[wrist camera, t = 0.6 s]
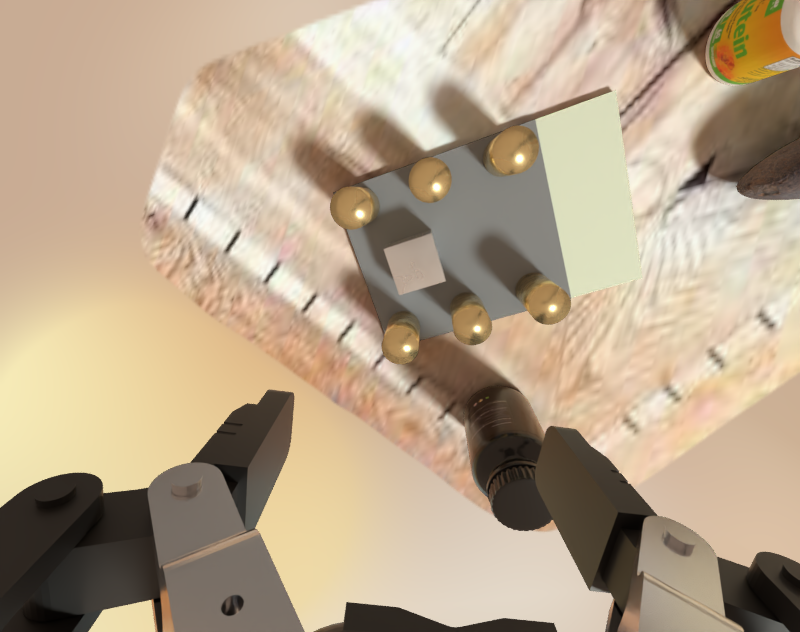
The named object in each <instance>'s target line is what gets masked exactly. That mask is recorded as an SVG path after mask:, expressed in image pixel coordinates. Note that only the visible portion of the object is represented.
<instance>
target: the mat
mask: <svg viewBox="0 0 800 632" xmlns="http://www.w3.org/2000/svg"><path fill="white" fill-rule="evenodd" d="M518 126H525V127H527V128H529V129H531V130H532V131H533V132H534V133H535V135H536V137H537V139H538V142H539V152H538V156H537V159H536V161H535V162H534V164H533V165H532V166H531V167H530V168H529V169H528V170H526V171H524V172H522V173H519V174H515V175H510V176H504V177H497V176H494V175H492V174H490V173H489V172H488V171H487V170H486V168H485V166H484V163H483V154H484V150H485V148H486V146H487V145H488V144H489V143H490V142H491V141H492V140H493V139H494V138H496V137H497V136H498V135H499V134H500V133H502V132H503V131H502V132H499V133H496V134H493V135H491V136H488V137H485V138H482V139H479V140H477V141H474V142H471V143H468V144H466V145H463V146H460V147H457V148H455V149H452V150H449V151H446V152H444V153H441V154H438V155H435V156H433V158H438V159H440V160H442V161H443V162H444V163H445V164H446V165H447V166H448V168H449V170H450V172H451V176H452V183H451V187H450V190H449V192H448V193H447V195H446V196H445V197H444V198H443V199H441V200H439V201H437V202H434V203H425V202H422V201H420V200H418V199H417V198H416V197H415V196H414V195H413V194H412V192H411V190H410V187H409V174H410V171H411V169H412V168H413V166H414V165H415V164H416V163H417V162H416V163H413V164H411V165H408V166H405V167H402V168H400V169H397V170H394V171H391V172H389V173H386V174H383V175H380V176H378V177H375V178H372V179H369V180H366V181H364V182H361V183H358V184H355V185H353V186H350V187H364V188H368V189H370V190H372V191H373V192H374V193H375V194H376V195H377V197H378V199H379V203H380V210H379V213H378V215H377V217H376V218H375V219H374V220H373V221H372V222H370V223H368V224H366V225H364V226H362V227H361V228H358V229H354V230H349V229H347V232H348V235H349V238H350V240H351V243H352V246H353V249H354V251H355V254H356V257H357V259H358V262H359V265H360V268H361V270H362V273H363V276H364V279H365V281H366V284H367V287H368V290H369V292H370V295H371V298H372V301H373V303H374V306H375V309H376V311H377V314H378V317H379V320H380V322H381V325H382V328H383V331H384V333H385V332H386V329H387V326H388V322H389V320H390V318H391V317H392V316H393V315H394V314H395V313H397V312H400V311H408V312H410V313H412V314H414V315H415V316H416V317H417V318H418V320H419V323H420V335H419V341H420V340H424V339H427V338H431V337H434V336H438V335H442V334H445V333H449V332H452V331H454V330H453V325H452V319H451V313H450V305H451V302H452V300H453V299H454V298H455V297H456V296H457V295H459V294H461V293H466V292H469V293H473V294H475V295H477V296H478V297H479V298H480V299H481V301H482V303H483V305H484V307H485V309H486V311H487V313H488V315H489V317H490V320H491V321H492V320H496V319H499V318H503V317H506V316H510V315H514V314H517V313H521V312H524V311H527V309H526V308H525V307H524V306H523V305H522V303H521V302H520V301H519V300H518V298H517V296H516V292H515V289H516V285H517V283H518V281H519V280H520V279H521V278H522V277H523V276H524V275H526V274H529V273H540V274H542V275H544V276H545V277H547V278H548V279H550V280H551V281H552V282H554V283H555V284H556V285H558V286H559V287H560V288H562V289H563V290H564V291H566V292H567V294H568V295H569V297H570V299H571V298H573V297H577V296H580V295H584V294H587V293H591V292H595V291H598V290H602V289H605V288H609V287H613V286H616V285H620V284H623V283H627V282H631V281H634V280H638V279H641V278H642V272H641V265H640V258H639V251H638V243H637V236H636V229H635V222H634V215H633V208H632V201H631V194H630V187H629V180H628V173H627V166H626V159H625V151H624V144H623V137H622V130H621V123H620V116H619V109H618V102H617V95H616V90H615V91H612V92H609V93H607V94H604V95H601V96H598V97H596V98H593V99H590V100H587V101H585V102H582V103H579V104H576V105H574V106H571V107H568V108H565V109H562V110H560V111H557V112H554V113H551V114H549V115H546V116H543V117H540V118H538V119H535V120H532V121H529V122H526V123H524V124H521V125H518ZM336 192H337V191H336ZM336 192H333V194H335V193H336ZM429 230H432V233H433V237H434V240H435V244H436V247H437V250H438V254H439V257H440V260H441V264H442V267H443V270H444V274H445V279H446V281H445V282H442V283H438V284H435V285H432V286H428V287H425V288H422V289H419V290H415V291H412V292H409V293H405V294H402V295H399V293H398V290H397V287H396V284H395V281H394V279H393V276H392V273H391V270H390V267H389V264H388V261H387V258H386V255H385V252H384V248H385V247H386V245H387V244H389V243H392V242H395V241H398V240H401V239H404V238H407V237H410V236H414V235H417V234H420V233H423V232H426V231H429Z"/></svg>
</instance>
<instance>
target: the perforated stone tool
mask: <svg viewBox="0 0 800 632" xmlns="http://www.w3.org/2000/svg"><path fill="white" fill-rule="evenodd" d="M736 187H737V190H738V192H739V193H740V194H742V195H744V196H746V197H749V198H754V199H764V200H789V199H800V138H799V139H797V140H795V141H793V142H791V143H789V144H788V145H786V146H784V147H782V148H781V149H779V150H777V151H776V152H774V153H773V154H771V155H770V156H768V157H767V158H765V159H764V160H763V161H761V162H760V163H758V164H757V165H756V166H754V167H753V168H752V169H751V170H750V171H749V172H748V173H747V174H745V175H744V176H743V177H742V178H741V180H740V181H739V183H738V184H737V186H736Z"/></svg>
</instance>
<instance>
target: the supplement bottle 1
mask: <svg viewBox="0 0 800 632" xmlns="http://www.w3.org/2000/svg"><path fill="white" fill-rule="evenodd" d="M464 424H465V431H466V438H467V445H468V451H469V458H470V464H471V471H472V475H473V479H474V481H475V483H476V485H477V487H478V488H479V490H480V491H481V492H482V493H483V494H484V495H485V496H487V497H488V499H489V502H490V504H491V509H492V512H493V513H494V516H495V517H496V518H497V519H498V521H499V522H501V523H502V524H503V525H505V526H507V527H508V528H512V529H513V530H519V531H523V530H524V531H529V530H535V529H539V528H541V527H544V526H545V525H546V524H548V523H550V522H551V520H553V519H552V517H551V515H550V513H549V511H548V509H547V507H546V505H545V503H544V501H543V499H542V497H541V495H540V493H539V491H538V489H537V486H536V482H535V469H536V465H537V462H538V458H539V455H540V451H541V447H542V444H543V440H544V437H545V434H544V431H543V429H542V427H541V425H540V423H539V421H538V419H537V417H536V415H535V413H534V411H533V409H532V407H531V405H530V403H529V402H528V400H527V399H526V397H525V396H524V395H522V394H521V393H520V392H518V391H517V390H515V389H513V388H510V387H506V386H491V387H487V388H484V389H482V390H480V391H479V392H477V393H476V394H474V395H473V396H472V397H471V398H470V400H469V401H468V403H467V405H466V407H465V410H464Z"/></svg>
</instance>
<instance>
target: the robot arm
mask: <svg viewBox="0 0 800 632" xmlns="http://www.w3.org/2000/svg"><path fill="white" fill-rule="evenodd" d="M293 408H294V393H292V392H285V391H276V390H268V391H267V392H266V393H265V395H264V396H263V398H262V399H261V400H260V402H259V403H258V404H257V405H256V404H248V403H247V404H245V405H244V406H242V407H240V408H238V409H236V410H235V411H233V412H232V413H231V414H230V416H229V417H228V418H227V419H226V420H225V422H224V424H222V425H221V426H220V428H219V429H218V430H217V433H215V434H214V435H213V436H212V437H211V439H210V440H209V441H208V442H207V443H206V444H205V446H204V447H203V448H202V449H201V450H200V452H199V453H198V454H197V455H196V457H195V458H194V459H193V460H192V461H191V463H187V464H182V465H179V466H176V467H173V468H170V469H168V470H166V471H165V472H163V473H161V474H160V475H159V476H158V477H156V478H155V479H154V480H153V482H152V483H151V484H150V486H149V488H144V489H138V490H129V491H121V492H112V493H103V484H102V481H101V479H99V478H98V477H97V476H95V475H92V474H88V473H69V474H63V475H58V476H54V477H51V478H48V479H45V480H42V481H40V482H38V483H36V484H33V485H32V486H29V487H28V488H26V489H24V490H23V491H21V492H20V493H19V494H17V495H16V496H14V497H13V498H12V499H11V500H9V501H8V502H7V503H6V504H4V505H3V506H2V507H1V508H0V632H88V631H89V630H90V628H91V627H92V625H93V624H94V622H95V621H96V619H97V618H98V616H99V615H100V613H101V612H102V610H104V609H109V608H114V607H118V606H123V605H128V604H133V603H137V602H142V601H147V600H152V607H153V615H154V622H155V630H156V632H304V629H303V627H302V625H301V623H300V620H299V618H298V616H297V614H296V612H295V609H294V607H293V605H292V603H291V601H290V598H289V596H288V594H287V592H286V590H285V587H284V585H283V583H282V581H281V579H280V576H279V574H278V572H277V570H276V567H275V565H274V563H273V561H272V559H271V556H270V554H269V552H268V550H267V548H266V546H265V543H264V541H263V539H262V537H261V535H260V533H259V531H258V530H257V529H255V527H256V524H257V522H258V520H259V518H260V516H261V513H262V511H263V509H264V507H265V505H266V502H267V500H268V498H269V496H270V494H271V491H272V489H273V487H274V485H275V482H276V480H277V478H278V476H279V473H280V471H281V469H282V467H283V465H284V463H285V460H286V458H287V455H288V452H289V447H290V442H291V433H292V421H293ZM535 482H536V486H537V489H538V491H539V493H540V495H541V497H542V499H543V501H544V503H545V505H546V507H547V509H548V511H549V513H550V515H551V517H552V519H553V520H554V522H555V524H556V526H557V528H558V530H559V532H560V534H561V536H562V538H563V540H564V542H565V544H566V546H567V548H568V550H569V551H570V553H571V555H572V557H573V559H574V561H575V563H576V565H577V567H578V569H579V571H580V573H581V575H582V577H583V579H584V581H585V583H586V585H587V586H588V588H589V590H590V591H597V592H606V593H611V594H612V596H613V598H614V599H613V602H612V604H611V607H610V610H609V615H608V620H607V625H606V631H605V632H800V564H799V563H797V562H795V561H793V560H791V559H789V558H787V557H784V556H781V555H778V554H775V553H771V552H760V553H758V554H757V555H756V556H755V558H754V560H753V562H752V564H751V566H750V568H748V567H746V566H743V565H740V564H736V563H734V562H731V561H728V560H725V559H722V558H719V557H717V556H716V554H715V552H714V550H713V549H712V548H711V546H710V545H709V544H708V543H707V542H706V541H705V540H704V539H703V538H701V537H700V536H699V535H698V534H696V533H695V532H694V531H693V530H691V529H689V528H688V527H686V526H684V525H683V524H680V523H678V522H676V521H674V520H671V519H669V518H666V517H662V516H657V514H656V513H655V512H654V511H653V510H652V509H651V507H650V506H649V505H648V504H647V503H646V502H645V501H644V499H643V498H642V497H641V496H640V495H639V494H638V493H637V491H636V490H635V489H634V488H633V487H632V486H631V484H628V481H627V480H626V479H625V478H624V476H623V475H622V474H621V473H619V471H618V470H617V468H616V467H615V466H614V465H613V464H612V463H611V461H610V460H609V459H608V458H607V457H605V456H604V455H602V454H601V453H600V452H598V451H597V450H596V449H594V448H593V447H591V446H590V445H589V444H588V443H587V441H586V440H585V439H584V438H583V437H582V435H581V434H580V433H579V432H578V431H577V430H576V429H571V428H563V427H555V426H550V427H549V428H548V429H547V431H546V433H545V437H544V440H543V444H542V447H541V451H540V455H539V458H538V462H537V465H536V469H535ZM314 632H557V630H556V627H555V625H554V623H547V622H537V621H526V620H517V619H507V618H503V619H497V620H492V621H487V622H483V623H478V624H473V625H468V626H463V627H457V628H455V627H449V626H446V625H444V624H441V623H438V622H436V621H433V620H430V619H428V618H425V617H422V616H420V615H417V614H414V613H412V612H409V611H407V610H404V609H401V608H398V607H389V606H378V605H368V604H359V603H348V602H347V603H346V610H345V617H344V622H342V623H337V624H333V625H329V626H326V627H323V628H320V629H318V630H316V631H314Z"/></svg>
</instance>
